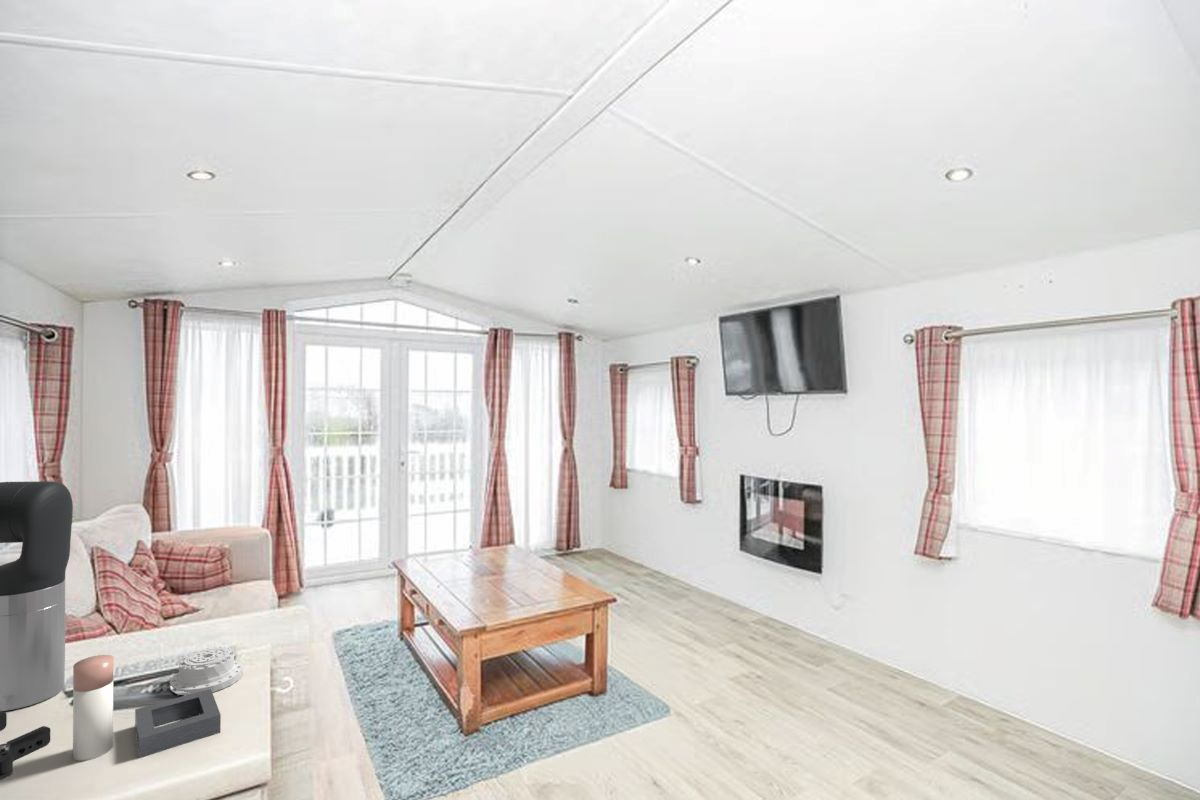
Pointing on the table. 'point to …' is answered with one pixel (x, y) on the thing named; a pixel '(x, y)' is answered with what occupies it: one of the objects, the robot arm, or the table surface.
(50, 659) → the robot arm
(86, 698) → the peg
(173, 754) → the table surface
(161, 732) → the socket
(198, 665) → the mechanical component
